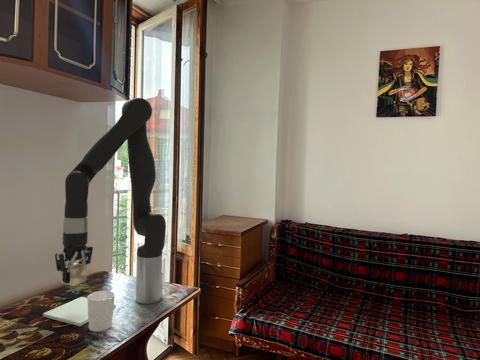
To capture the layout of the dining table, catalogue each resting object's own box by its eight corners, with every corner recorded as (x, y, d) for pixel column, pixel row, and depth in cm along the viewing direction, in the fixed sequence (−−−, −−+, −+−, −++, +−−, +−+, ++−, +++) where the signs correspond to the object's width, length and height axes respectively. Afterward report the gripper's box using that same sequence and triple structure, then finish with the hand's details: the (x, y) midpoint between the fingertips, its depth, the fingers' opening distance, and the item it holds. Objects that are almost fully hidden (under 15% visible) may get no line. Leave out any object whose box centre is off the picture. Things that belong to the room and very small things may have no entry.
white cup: (82, 326, 107) (83, 295, 107) (106, 318, 113) (107, 289, 113) (93, 335, 102) (94, 302, 102) (118, 327, 108) (119, 295, 107)
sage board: (81, 299, 128) (81, 296, 128) (115, 307, 122) (115, 304, 122) (43, 316, 113) (43, 313, 113) (80, 326, 107) (80, 323, 107)
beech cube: (74, 278, 119) (74, 263, 119) (86, 281, 117) (87, 265, 117) (60, 283, 114) (61, 266, 113) (73, 286, 112) (74, 269, 112)
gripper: (83, 226, 123) (82, 273, 123) (48, 232, 109) (46, 284, 110) (100, 228, 120) (98, 276, 121) (66, 235, 107) (64, 288, 107)
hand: (73, 280), depth 115 cm, fingers closed on beech cube, 5 cm apart
